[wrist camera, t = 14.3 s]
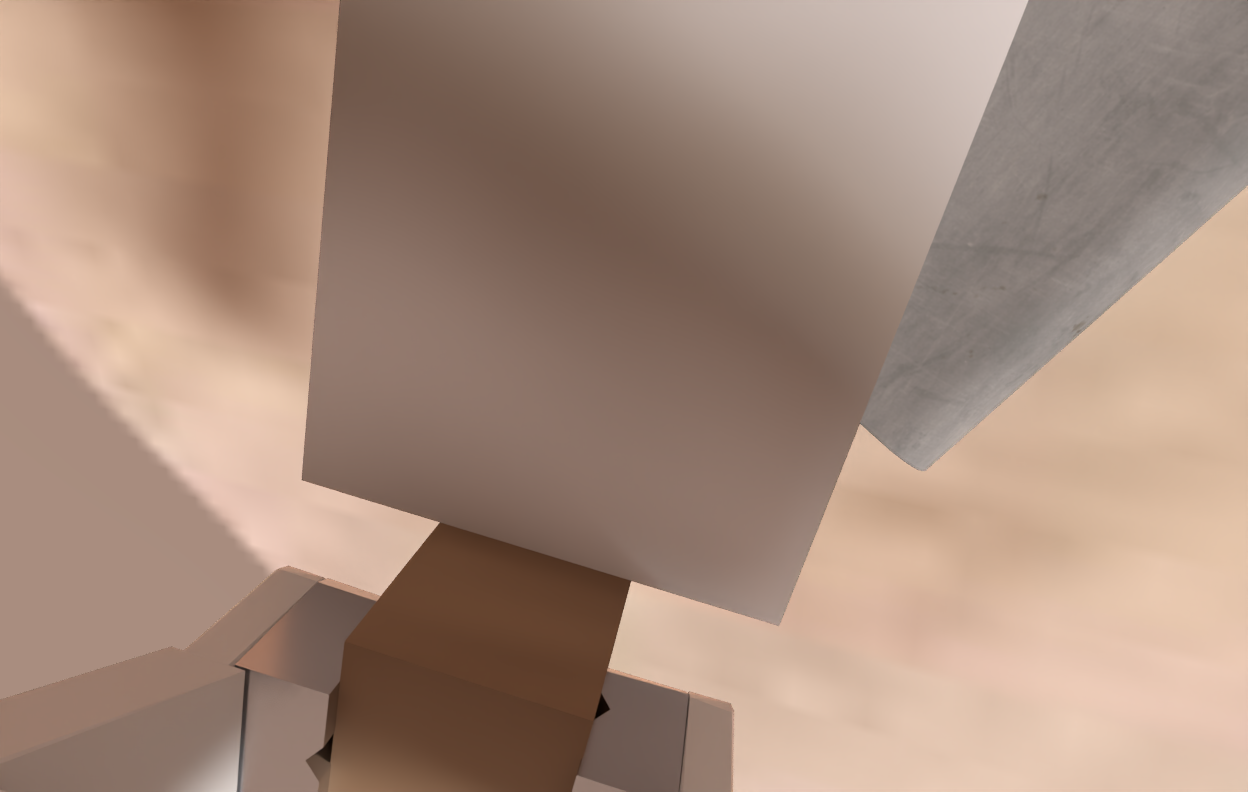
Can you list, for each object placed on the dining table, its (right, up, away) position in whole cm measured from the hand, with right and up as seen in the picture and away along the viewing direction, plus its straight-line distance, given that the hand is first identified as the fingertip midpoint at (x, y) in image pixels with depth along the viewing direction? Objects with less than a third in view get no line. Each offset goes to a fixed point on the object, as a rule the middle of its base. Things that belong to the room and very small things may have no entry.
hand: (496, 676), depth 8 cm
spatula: (0, +1, +1) cm, 2 cm away
